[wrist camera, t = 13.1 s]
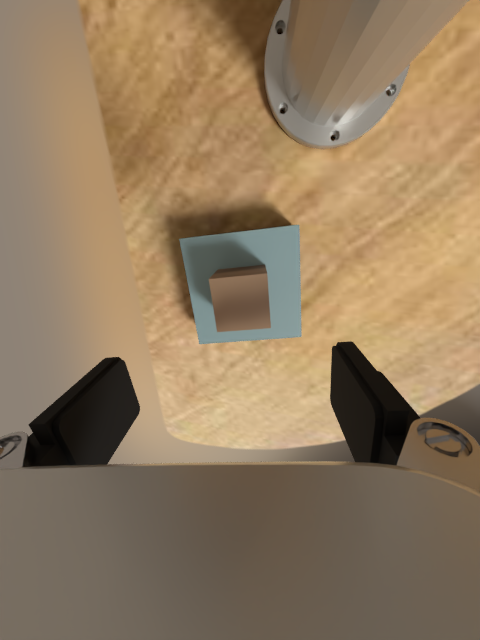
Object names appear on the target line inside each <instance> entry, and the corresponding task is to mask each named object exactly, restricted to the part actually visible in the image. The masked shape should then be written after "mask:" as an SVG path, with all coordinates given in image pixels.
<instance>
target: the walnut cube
mask: <svg viewBox="0 0 480 640" xmlns="http://www.w3.org/2000/svg"><path fill="white" fill-rule="evenodd" d="M209 284H210V290H211V297H212V303H213V309H214V316H215V322H216V328H217V332H226V331H240V330H253V329H267V328H271V321H270V306H269V291H268V276H267V270H266V266H265V265H257V266H247V267H237V268H227V269H218V270H217V271H216V272H215V273H214V274H213V275H212V276H211V277H210V278H209Z"/></svg>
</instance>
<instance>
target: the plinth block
mask: <svg viewBox="0 0 480 640" xmlns="http://www.w3.org/2000/svg"><path fill="white" fill-rule="evenodd" d="M179 240H180V246H181V251H182V256H183V261H184V266H185V272H186V277H187V282H188V287H189V292H190V297H191V303H192V308H193V313H194V318H195V323H196V329H197V334H198V339H199V344H208V343H222V342H236V341H250V340H264V339H278V338H292V337H301V289H300V237H299V225H290V226H282V227H273V228H265V229H256V230H248V231H240V232H231V233H223V234H214V235H206V236H197V237H189V238H182V239H179ZM257 265H265V266H266V270H267V276H268V291H269V306H270V321H271V328H267V329H253V330H240V331H226V332H217V328H216V322H215V316H214V309H213V303H212V297H211V290H210V284H209V278H210V277H211V276H212V275H213V274H214V273H215V272H216V271H217V270H218V269H227V268H237V267H247V266H257Z"/></svg>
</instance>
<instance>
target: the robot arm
mask: <svg viewBox="0 0 480 640" xmlns="http://www.w3.org/2000/svg"><path fill="white" fill-rule="evenodd" d="M468 1H469V0H282V2H281V4H280V6H279V8H278V10H277V12H276V14H275V16H274V19H273V22H272V25H271V28H270V31H269V35H268V39H267V45H266V51H265V61H264V78H265V89H266V94H267V99H268V103H269V105H270V108H271V110H272V113H273V115H274V117H275V119H276V120H277V122H278V124H279V125H280V127H281V128H282V129H283V130H284V131H285V132H286V133H287V134H288V135H289V136H290V137H291V138H292V139H294V140H295V141H297V142H298V143H300V144H303V145H305V146H308V147H310V148H317V149H331V148H337V147H340V146H343V145H347V144H349V143H351V142H353V141H354V140H356V139H358V138H360V137H361V136H362V135H364V134H365V133H366V132H368V131H369V130H370V129H371V128H372V127H373V126H374V125H375V124H377V123H378V122H379V121H380V120H381V119H382V117H383V116H384V115H385V114H386V112H387V111H388V110H389V109H390V107H391V106H392V104H393V103H394V101H395V99H396V98H397V96H398V94H399V92H400V90H401V88H402V86H403V83H404V81H405V78H406V76H407V73H408V69H409V66H410V63H411V62H412V61H413V60H414V59H415V58H416V57H417V55H418V54H419V53H420V52H421V51H422V50H423V49H424V48H425V47H426V46H427V45H428V44H429V43H430V42H431V41H432V39H433V38H434V37H435V36H436V35H437V34H438V33H439V32H440V31H441V30H442V29H443V28H444V27H445V26H446V25H447V23H448V22H449V21H450V20H451V19H452V18H453V17H454V16H455V15H456V14H457V13H458V12H459V11H460V10H461V9H462V7H463V6H464V5H465V4H466V3H467V2H468ZM278 32H281V33H282V34H277V33H278ZM386 92H387V93H388V95H389V96H387V94H386ZM280 110H284V111H285V113H284V114H281V113H280ZM331 136H334V138H335V140H334V141H332V140H331V138H330V137H331ZM330 399H331V405H332V408H333V410H334V412H335V415H336V417H337V420H338V422H339V424H340V427H341V429H342V432H343V434H344V436H345V439H346V441H347V444H348V446H349V448H350V451H351V453H352V455H353V458H354V460H355V462H328V461H327V462H223V463H222V462H218V463H217V462H216V463H215V462H214V463H163V464H162V463H158V464H113V465H112V464H109V465H107V464H108V462H109V460H110V459H111V457H112V455H113V454H114V452H115V451H116V449H117V448H118V446H119V444H120V443H121V441H122V440H123V438H124V436H125V435H126V433H127V432H128V430H129V429H130V427H131V425H132V424H133V422H134V420H135V419H136V417H137V416H138V414H139V411H140V406H139V403H138V400H137V397H136V394H135V391H134V388H133V385H132V382H131V379H130V376H129V373H128V370H127V367H126V364H125V362H124V361H123V360H121V358H119V357H112V358H105V359H104V360H102V361H101V362H100V363H99V364H98V365H96V367H94V368H93V369H92V370H91V371H90V372H88V373H87V374H86V375H85V376H84V377H83V378H82V379H80V380H79V381H78V382H77V383H76V384H75V385H74V386H72V387H71V388H70V389H69V390H68V391H67V392H65V393H64V394H63V395H62V396H61V397H60V398H59V399H57V400H56V401H55V402H54V403H53V404H52V405H51V406H49V407H48V408H47V409H46V410H45V411H44V412H42V413H41V414H40V415H39V416H38V417H37V418H36V419H34V420H33V421H32V422H31V423H30V424H29V426H30V428H31V430H32V432H33V433H32V434H31V435H30V436H29V437H28V435H27V434H26V433H25V432H15V433H11V434H8V435H5V436H2V437H0V640H480V446H479V445H478V443H477V442H476V440H475V439H474V438H473V437H471V436H470V435H469V434H468V433H467V432H466V431H464V430H462V429H461V428H459V427H457V426H456V425H453V424H451V423H449V422H446V421H443V420H439V419H434V418H420V417H419V416H418V414H417V413H416V412H415V411H414V410H413V409H412V407H411V406H410V405H409V404H408V403H407V402H406V400H405V399H404V398H403V397H402V396H401V395H400V393H399V392H398V391H397V390H396V389H395V388H394V386H393V385H392V384H391V383H390V382H389V381H388V379H387V378H386V377H385V376H384V375H383V374H382V373H381V372H379V371H376V369H375V368H374V367H373V366H372V365H371V363H370V362H369V361H368V360H367V358H366V357H365V356H364V355H363V354H362V352H361V351H360V350H359V349H358V348H357V346H356V345H355V344H354V343H353V342H338V343H337V345H336V346H333V347H332V365H331V394H330Z"/></svg>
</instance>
